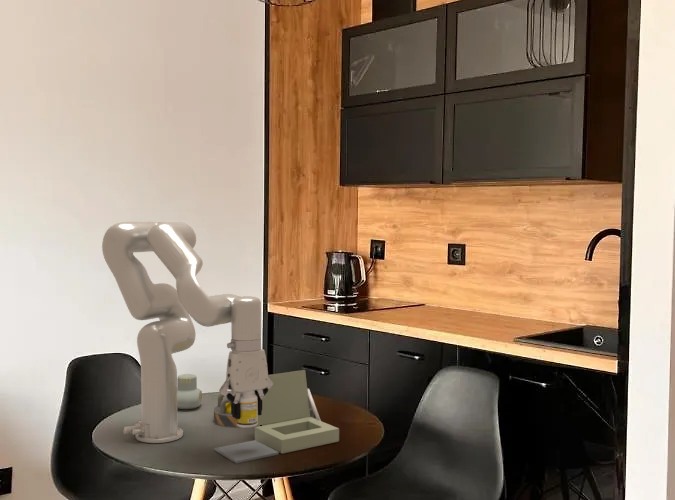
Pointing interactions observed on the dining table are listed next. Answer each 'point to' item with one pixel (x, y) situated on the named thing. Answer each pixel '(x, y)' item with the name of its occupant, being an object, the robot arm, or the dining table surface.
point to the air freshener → (188, 392)
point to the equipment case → (291, 416)
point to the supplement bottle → (248, 410)
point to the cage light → (225, 417)
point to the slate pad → (246, 451)
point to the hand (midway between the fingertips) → (246, 415)
